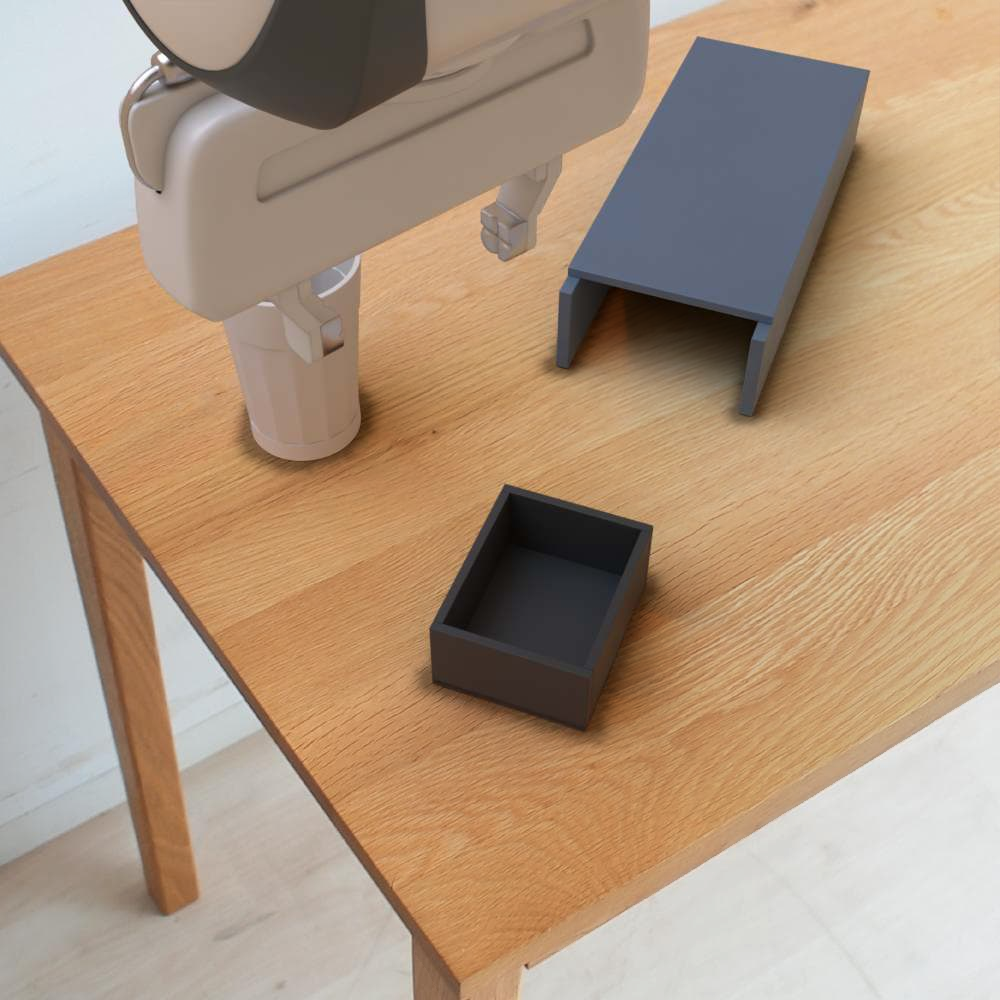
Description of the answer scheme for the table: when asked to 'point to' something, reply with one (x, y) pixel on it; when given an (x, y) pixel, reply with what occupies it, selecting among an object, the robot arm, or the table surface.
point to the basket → (541, 606)
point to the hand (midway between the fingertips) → (415, 296)
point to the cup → (300, 374)
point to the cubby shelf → (723, 195)
